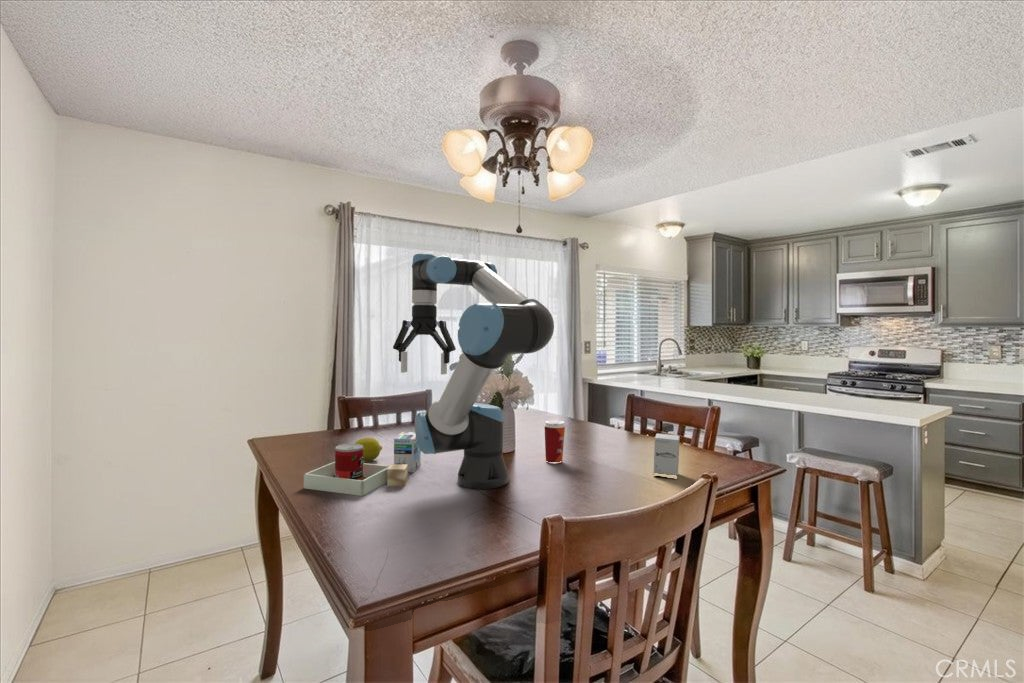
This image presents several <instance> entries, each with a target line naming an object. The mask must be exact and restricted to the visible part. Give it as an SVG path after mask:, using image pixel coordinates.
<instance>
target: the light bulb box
mask: <svg viewBox="0 0 1024 683" xmlns="http://www.w3.org/2000/svg"><path fill="white" fill-rule="evenodd" d="M421 452H422V451H421V450H420V449H419V446H418V443H417V440H416V434H415V431H413V432H410V431H402V432H400V433H399V434H398V435H397V436H396V437H394V438H393V464H408V473H415V472H416V470H417V469H418V468H419V467H420V465H421V464H422V463H421V462H422V461H421V456H422V455H421Z"/></svg>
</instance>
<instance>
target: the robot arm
mask: <svg viewBox="0 0 1024 683" xmlns="http://www.w3.org/2000/svg"><path fill="white" fill-rule="evenodd" d="M411 263H412V264H411V268H412V269H411V270H412V271H411V275H412V276H411V277H412V278H411V279H412V280H411V281H412V282H411V284H412V286H411V303H412V304H413V305H412V306H411V318H412V319H411V320H409V319H403V320H402V323H401V324H402V325H401V328H400V330H399V333H398V335H397V338H396V339H395V342H394V344H393V346H392V348H393V350H396V351H398V362H400V373H402V374H404V373H407V372H408V351H407V348H408V347H409V346H410V345H411V343H412V342H413V341H414V340H415V338H416V337H417V336H422V335H423V336H424V335H426V336H431V337H432V339H433V340H434V341H435V342H436V344H437V345H438V347H439V348H440V349H441V351H442V352H441V353H440V375H441V376H442V375H447V374H448V372H447V371H448V364H449V363H450V359H451V358H450V355H451V354H450V353H452V352H455V351H456V346H455V344H454V341H453V338H452V337H451V334H450V332H449V330H448V328H447V321H446V320H441V319H440V320H437V305H436V304H437V303H438V302H437V301H438V300H437V298H438V297H437V295H438V292H437V291H438V290H437V289H438V288H437V287H438V285H439V284H441V285H442V284H443V285H455V286H456V285H457V286H458V285H459V286H470V287H472V288H473V289H475V290H476V292H478V293H479V294H480V295H481V296H482V297H483V298H484V299H485V300H486V302H481V303H479V302H477V303H473V304H471V305H469V306H468V307H467V308H466V309H465V310H464V312H463V313H462V315H461V316H460V320H459V323H458V327H459V329H458V330H457V342H458V344H459V347H460V349H461V352H462V353H461V356H460V358H459V360H458V362H457V364H456V366H455V368H454V370H453V372H452V374H451V376H450V379H449V380H448V382H447V385H446V386H445V389H444V391H443V393H442V394H441V397H440V398H439V399H438V400H436V401H434V402H432V404H431V405H430V406H429V408H428V410H427V411H425V412H424V411H421V412H418V413H417V414H416V415H415V418H414V432H415V434H416V440H417V443H418V446H419V449H420V450H421V452H422V454H425V455H430V454H431V455H432V454H433V455H436V454H440V453H441V454H442V453H448V452H456V451H463V457H462V460H461V463H460V467H459V469H458V471H457V483H458V484H459V485H460V486H462V487H464V488H468V489H475V490H487V489H489V490H490V489H497V488H501V487H503V485H504V486H506V485H507V484H508V482H509V473H508V470H507V466H506V463H505V459H504V457H503V446H504V445H503V444H504V441H503V440H504V423H505V422H504V413H503V412H504V411H503V409H502V408H501V407H499V406H496V405H492V404H486V403H477V402H476V401H477V400H478V398H479V396H480V395H481V392H482V391H483V390H484V387H485V386H486V385H487V384H486V383H487V382H488V380H489V378H490V376H491V375H492V373H493V372H494V370H497V369H500V368H502V367H503V366H504V365H505V364H506V362H507V361H508V359H509V357H510V355H516V354H517V355H518V354H520V355H523V354H524V355H525V354H526V355H527V354H532V353H533V354H534V353H536V352H539V351H541V350H542V349H544V348H545V347H546V346H547V345H548V344H549V343H550V341H551V339H552V338H553V335H554V331H555V321H554V318H553V315H552V313H551V312H550V310H549V309H548V308H547V307H546V306H545V305H543V304H542V303H541V302H540V301H538V300H537V299H534V298H528V297H527V296H525V295H524V294H523V293H522V292H520V291H519V290H518V289H516V288H515V287H514V286H513V285H511V284H510V283H509V282H508V281H506V280H505V279H504V278H503V277H501V276H500V275H498V270H497V267H496V265H495V264H494V263H492V262H487V261H483V260H482V261H481V260H469V259H459V258H451V257H450V256H447V255H435V254H433V253H425V252H424V253H423V252H422V253H416V254H414V255H413V256H412V262H411ZM487 301H488V302H487ZM410 327H412V330H410V332H409V329H410ZM437 327H438V328H439V331H440V332H441V336H442V337H441V336H440V334H439V332H438V331H437V330H436V328H437ZM408 332H409V335H407V334H408ZM442 338H443V339H442Z"/></svg>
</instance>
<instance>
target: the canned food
mask: <svg viewBox="0 0 1024 683" xmlns="http://www.w3.org/2000/svg"><path fill="white" fill-rule="evenodd" d="M334 462H335V475H334V477H337V478H346V479H354V480H364V477H363V463H364V461H363V445H361V444H354V443H342V444H338V445H337V446H335V449H334Z"/></svg>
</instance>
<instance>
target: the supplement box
mask: <svg viewBox="0 0 1024 683" xmlns="http://www.w3.org/2000/svg"><path fill="white" fill-rule="evenodd" d="M680 436H681V435H675V434H668V433H667V434H666V433H656V434H655V437H654V451H653V452H654V453H653V474H654V473H658V474H666V475H676V476H677V475H678V476H679V465H680V464H679V463H680V440H681V437H680Z"/></svg>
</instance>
